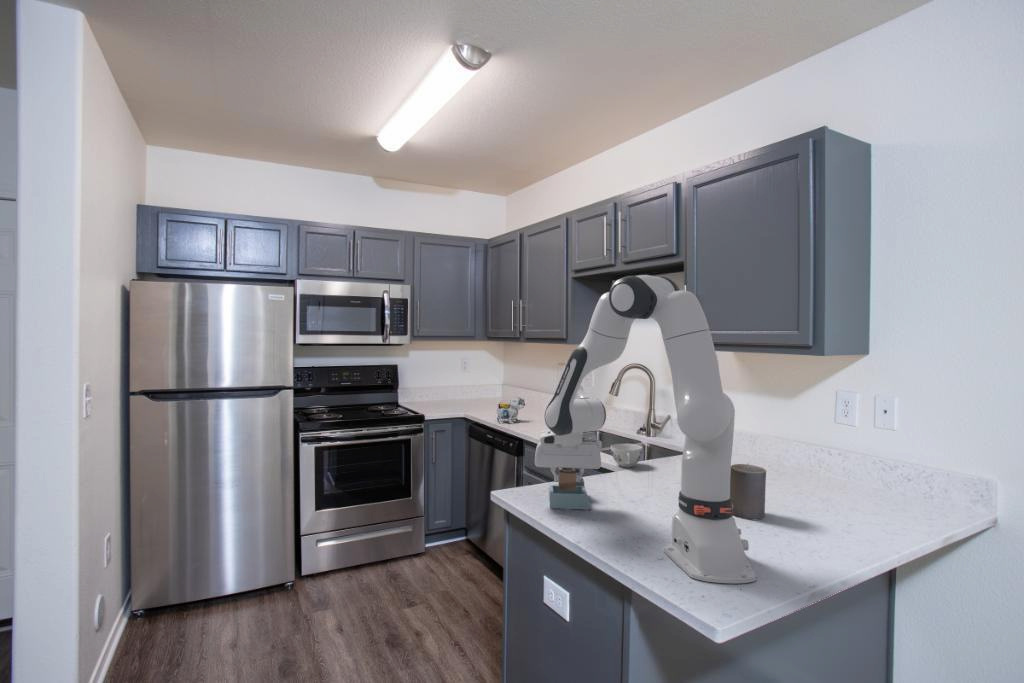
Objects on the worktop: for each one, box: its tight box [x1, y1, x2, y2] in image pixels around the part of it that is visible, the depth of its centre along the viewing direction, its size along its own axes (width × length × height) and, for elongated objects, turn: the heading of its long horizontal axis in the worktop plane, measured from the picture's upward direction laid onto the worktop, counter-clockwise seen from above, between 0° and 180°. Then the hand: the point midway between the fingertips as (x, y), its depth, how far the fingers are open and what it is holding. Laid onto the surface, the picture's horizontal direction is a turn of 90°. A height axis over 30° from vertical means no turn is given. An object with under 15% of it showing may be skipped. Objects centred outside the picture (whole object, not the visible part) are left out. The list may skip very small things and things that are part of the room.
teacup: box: [610, 443, 644, 469], centre depth 209 cm, size 15×12×8 cm
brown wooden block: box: [557, 468, 576, 490], centre depth 161 cm, size 6×5×6 cm
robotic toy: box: [496, 396, 526, 424], centre depth 309 cm, size 13×17×15 cm
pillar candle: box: [730, 463, 767, 520], centre depth 155 cm, size 10×10×15 cm
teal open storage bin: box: [548, 476, 592, 510], centre depth 164 cm, size 16×12×6 cm
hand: (567, 482), depth 161 cm, fingers closed on brown wooden block, 5 cm apart
